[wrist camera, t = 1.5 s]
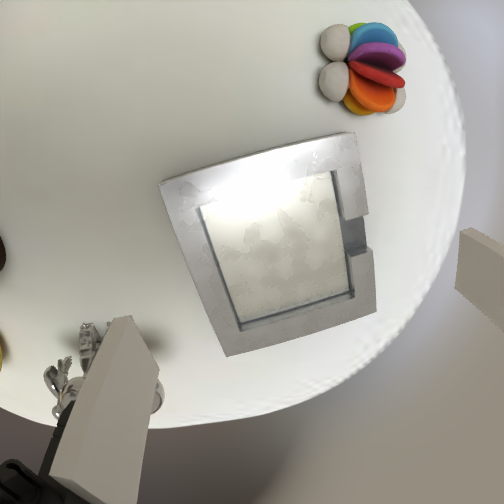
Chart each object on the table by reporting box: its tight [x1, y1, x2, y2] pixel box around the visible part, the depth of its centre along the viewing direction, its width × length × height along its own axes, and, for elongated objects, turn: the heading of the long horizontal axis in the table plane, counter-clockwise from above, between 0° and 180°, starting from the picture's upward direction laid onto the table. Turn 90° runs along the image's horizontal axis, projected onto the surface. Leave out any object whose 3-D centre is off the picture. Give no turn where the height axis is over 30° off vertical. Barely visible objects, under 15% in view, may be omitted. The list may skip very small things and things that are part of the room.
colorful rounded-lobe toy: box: [319, 22, 406, 115], centre depth 21 cm, size 8×10×7 cm
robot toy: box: [44, 322, 165, 420], centre depth 27 cm, size 15×6×15 cm, turn 94°
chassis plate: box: [158, 132, 376, 357], centre depth 30 cm, size 20×18×2 cm
